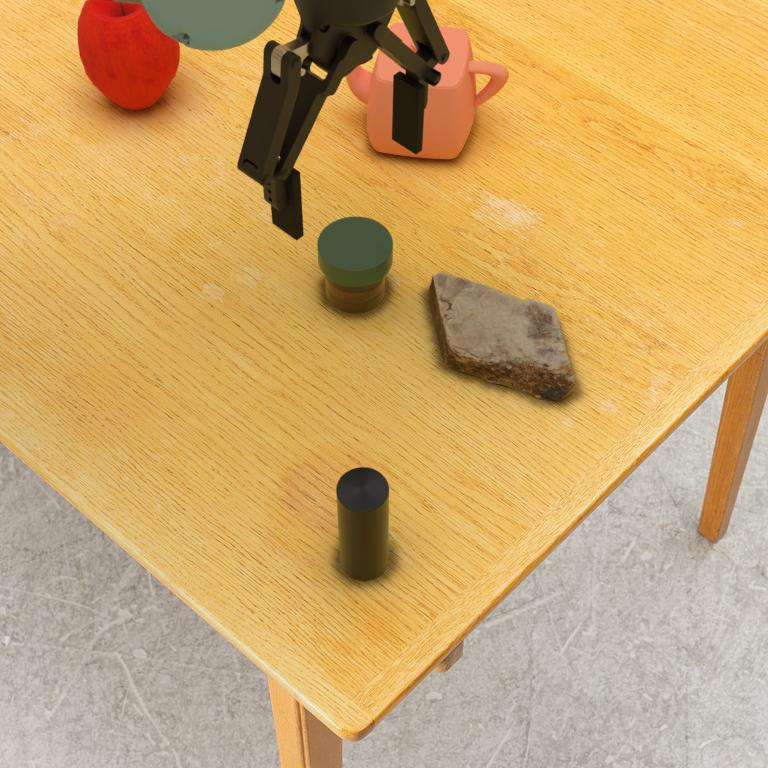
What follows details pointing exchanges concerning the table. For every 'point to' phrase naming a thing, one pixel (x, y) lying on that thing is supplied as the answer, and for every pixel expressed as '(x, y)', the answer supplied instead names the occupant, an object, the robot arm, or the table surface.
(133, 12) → the apple
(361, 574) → the black cylinder
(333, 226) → the green chip
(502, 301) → the stone
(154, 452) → the table surface
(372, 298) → the chip pile
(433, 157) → the teapot
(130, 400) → the table surface
